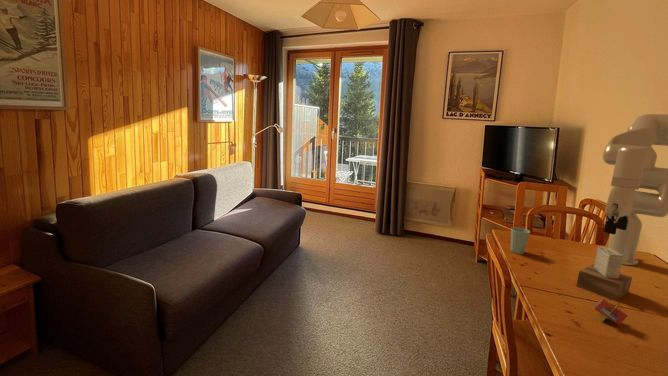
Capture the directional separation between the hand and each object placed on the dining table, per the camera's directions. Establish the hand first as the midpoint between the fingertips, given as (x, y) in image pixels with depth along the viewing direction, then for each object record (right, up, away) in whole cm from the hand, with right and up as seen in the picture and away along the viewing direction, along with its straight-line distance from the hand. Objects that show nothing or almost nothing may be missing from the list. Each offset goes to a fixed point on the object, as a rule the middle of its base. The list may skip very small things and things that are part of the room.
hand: (614, 231), depth 123 cm
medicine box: (-1, -16, +3) cm, 16 cm away
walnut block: (-1, -22, +4) cm, 22 cm away
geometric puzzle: (-16, -26, -17) cm, 34 cm away
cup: (-15, -14, +38) cm, 43 cm away
